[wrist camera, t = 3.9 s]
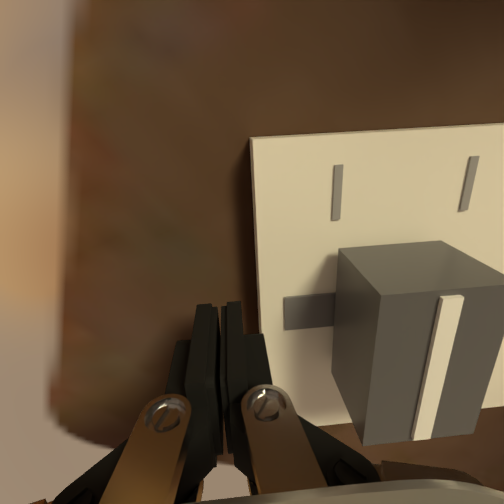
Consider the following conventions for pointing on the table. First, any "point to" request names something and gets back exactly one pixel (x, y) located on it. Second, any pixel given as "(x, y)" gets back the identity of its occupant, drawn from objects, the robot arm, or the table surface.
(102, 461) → the robot arm
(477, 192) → the fader console
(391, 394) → the fader knob
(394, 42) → the table surface
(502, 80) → the table surface
